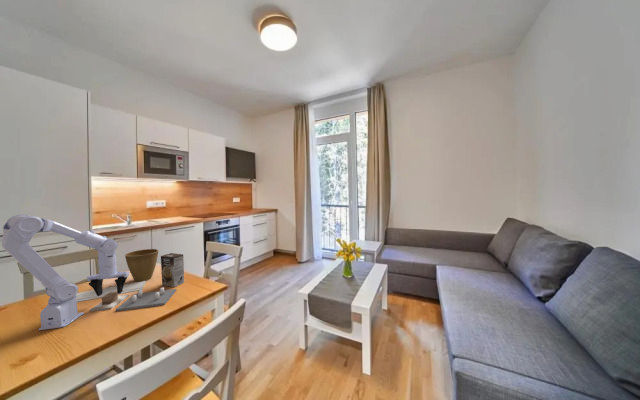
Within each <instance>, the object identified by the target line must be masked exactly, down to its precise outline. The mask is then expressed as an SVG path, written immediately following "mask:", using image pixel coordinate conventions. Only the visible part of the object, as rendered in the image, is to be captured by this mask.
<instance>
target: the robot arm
mask: <svg viewBox="0 0 640 400" xmlns="http://www.w3.org/2000/svg"><path fill="white" fill-rule="evenodd" d="M39 232H43V233H44V232H53V233H55V234H58V235H62V236H65V237H69V238H72V239H73V240H74V241H75V243H76V244H78V245H81V246H83V247H84V246H85V247H88V248H92V249H94V250H96V251H97V260H98V274H93V275H89V276H87V277H86V278H87V279H86V281H87V282H88V285H89V287H91V288H92V290H95V292H96V294H97V296H100V295H101V294H102V292H103V291H102V289H103V282H104V280H107V279H114V282H115V286H117V293H118V295H121V294H120V293H121V292H122V290H123V286H124V285H125V283H126V281H127V279H128V277H129V276H130V274H129V273H130V271H118V266H117V254H116V250H117V249H118V247H119V244H118V243H117V241H116V240H114V239H112V238H107V236H105V235H101V234H98V233H96V232H95V230H83V231H80V230H77V229H75V228H72V227H70V226H66V225H65V224H62V223H60V222H57V221H55V220H51V219H48V218H47V219H46V218H42V217H41V218H40V217H38V216H36V215H27V214H17V215H14V216H11V217H9V218H8V219H7V221H6V222H5V223H4V224H3V225H2V241H1V246H2V248H3V249H4V250H5V251H6V252H7V253H8V254H10V255H11V257H13V259H14V260H16V261H17V262H18V263H19V264H20V265H21V266H22V267H23V268H24V269H25V270H26V271H28V272H29V273H30V274H31V276H32V277H34V278H35V279H36V280H37V281H39V282H40V284H41V285H42V286H43V288H44V289H45V290H44V291H45V294H46V295H47V296H48V297H49V299H48V300H47V302H48V303H47V305H46V306H45V307H44V308H42V310H41V311H40V314H39V315H40V316H39V317H40V318H39V319H40V327H39V328H38V331H44V330H52V329H58V328H65V327H67V326H68V325H70V324H71V323H73V322H74V321H75V320H77V319H78V318H80V317H81V316H83V315H84V314H85V312H84V311H83V312H78V302H77V298H76V294H77V293H79V287H78V285H77V284H75V283H71V282H69V281H68V280H67V279H66V278H64V277H63V276H61V274H59V273H58V272H57V270H55V269H54V268H53V267H52V266H51V265H50V264H49V263H48V262H47V261H46V260H45V259H44V258H43V257H42V256H41V255H40V254H39V253H38V252H37V251H36V250H35V249H34V248H33V247H32V246H31V245H30V242H31V240H32V238H33V237H34V235H36V234H37V233H39Z"/></svg>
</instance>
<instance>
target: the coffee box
mask: <svg viewBox="0 0 640 400" xmlns="http://www.w3.org/2000/svg"><path fill="white" fill-rule="evenodd" d="M184 264H185V261H184V254H181V253H173V252H171V253H167V254H163V255H160V267H161V271H160V272H161V284H162V286H165V287H166V286H167V287H172V288H176V287H178V286H179V285H182V284H184V283H185V270H184V269H185V268H184V267H185V265H184Z"/></svg>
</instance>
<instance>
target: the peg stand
mask: <svg viewBox="0 0 640 400" xmlns="http://www.w3.org/2000/svg"><path fill="white" fill-rule="evenodd" d="M176 292H177V288H172V289H165V287H164V286H163V287H160V288H159V290H155V291H147V292H143V290H138V291H137V293H134V294H132V295H131V296H129V297H128V298H127V300H126V299H125V301H124V302H123V303H121V304H120V305H119V306H118V307H117V308H115V312H121V311H128V310H138V309H143V308H151V307H159V306H164V305H166V304H167V303H168V301H170V300H171V298H172V297H173V296H174V294H175V293H176Z"/></svg>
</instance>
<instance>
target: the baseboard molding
mask: <svg viewBox="0 0 640 400" xmlns="http://www.w3.org/2000/svg"><path fill="white" fill-rule="evenodd" d="M146 284H147V280H146V281H142V282H131V283H126V284H125V283H124V286H123V290H122V292H121V293H120V294H119V295H124V294H127V293H132V292H138V291H139V290H142V291H143V290H144V288H145V286H146ZM102 291H103V292H102V294H101V295H100V296H97V294H96V292H95V290H94V289H92V290H87V291H81V292H77V294H76V298H77V303H80V302H81V303H82V302H85V301H90V300H96V299H102V297H103V296H105V295H106V294H108V293H110V292H117V285H115V286H110V287H104V288H103V287H102Z"/></svg>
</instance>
